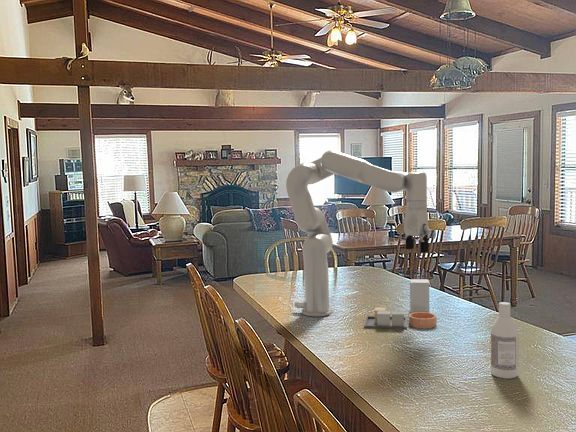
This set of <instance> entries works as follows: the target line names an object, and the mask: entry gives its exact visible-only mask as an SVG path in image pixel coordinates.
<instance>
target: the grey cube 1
mask: <svg viewBox="0 0 576 432" xmlns="http://www.w3.org/2000/svg"><path fill="white" fill-rule="evenodd" d="M390 317H391V311H387V310H386V311H378V312H377V326H390Z"/></svg>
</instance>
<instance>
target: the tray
mask: <svg viewBox="0 0 576 432" xmlns="http://www.w3.org/2000/svg"><path fill="white" fill-rule="evenodd" d="M363 328H364V329H382V330H383V329H384V330H386V329H387V330H388V329H389V330H390V329H391V330H408V318H407V316H404V326H392V316H390V326H377V324H375V315H366V317H365V320H364V325H363Z"/></svg>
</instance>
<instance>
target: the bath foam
mask: <svg viewBox="0 0 576 432" xmlns="http://www.w3.org/2000/svg"><path fill="white" fill-rule="evenodd" d="M490 373H491V375H492V376H494V377H497V378H499V379H506V380H508V379H509V380H510V379H514V378H517V377H518V375H519V331H518V327H517V324H516V323H515V321H514V319H513V318H512V316H511V303H510V302H506V301H501V302H498V316H497V318H496V319H495V320H494V322H493V323H492V326H491V330H490Z"/></svg>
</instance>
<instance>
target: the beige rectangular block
mask: <svg viewBox="0 0 576 432" xmlns="http://www.w3.org/2000/svg"><path fill="white" fill-rule="evenodd" d="M378 311H387V307H378V306H377V307H375V308H374V316H375V324H377V312H378Z"/></svg>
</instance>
